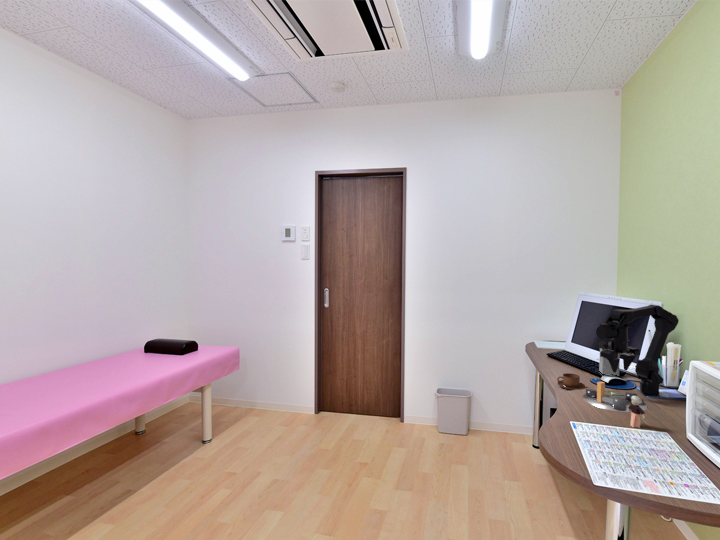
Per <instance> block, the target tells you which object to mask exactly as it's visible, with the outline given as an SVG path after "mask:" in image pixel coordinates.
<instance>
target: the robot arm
mask: <svg viewBox="0 0 720 540" xmlns="http://www.w3.org/2000/svg"><path fill="white" fill-rule="evenodd" d="M649 316H651V318H652V319H653V320H654V323H653V324H654V328H655V331H654V333H653V335H652V339H651V341H650V344H649V346H648V349H647V351H646V353H645V356H644V358H643V359H638V360H637V362H636V365H635V366H634V367H635V368H634V370H635V371H634V372H635V374H636V376H637V378H638V379H639V380H640V382H639V392H640V393H641V394H642V395H643V396H648V397H661V394H660V385H661V384H663V382H664V378H663V377H662V375H660V374H659V372H660V367H659V363H658V362H659V360H660V357H661V354H662V352H663V349H664V346H665V343H666V341H667V338H668V336H669V334H670V333H671V332H673V331H674V330H676V327H677V326H678V324H679V318H678V317H677V315H676V314H673V313H672V312H671V311H668V310H666V308H663V307H662V306H660V305H658V304H649V305H645V306H642V307H641V306H640V307H636V308H631V309H613V310H611V312H610V314H609V316H608V317H607V319H606V320H605V322H604V323H599V326H597V328H596V329H595V335H596V336H597V338H599V339H600V340H601V341H598V347H599V349H600V348H602V350H603V351H601V352H600V351H599V358H600V357H604V358H606V359H607V360H608V361H609V363H610V365H611V368H612V370H613V372H616V371H617V368H618V364H619V361H621V359H618V355H620V356H621V357H622V361H623V370H624V371H628V369H629V368H630V366H631V364H632V363H633V362H634V360H635V359H636V358H637V356H640V355H641V350H640V349H639V348H637V347H633V346H628V344H630V343H631V340H629V338H628V336H629V335H628V332H629V329H632V328H633V326H632V325H631V324H630V323H631V322H632V323H633V321H634V320H636V319H641V318H644V317H649ZM604 339H605V340H606V339H610V340H609V341H608V342H607V341H605V340H604ZM605 349H606V350H605ZM608 349H609V350H608ZM610 350H611V351H610ZM612 350H613V351H612ZM619 365H620V364H619Z"/></svg>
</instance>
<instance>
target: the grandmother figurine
mask: <svg viewBox="0 0 720 540" xmlns="http://www.w3.org/2000/svg"><path fill="white" fill-rule="evenodd" d="M631 399H632V404H631V405H630V406H629V407H628V410H627V411H628V412H627V413H630V427H631V426H632V428H639V429H640V428H641V417H642V419H644V420H646V419H647V417H646V414H645V413H646V412H644V411H645V410H644V411H643V410H642V409H641V408H640V407H639V406H638V405H639V404H640V403H642V402H643V401H642V399H641V398H640V397H639V396H638V395H637V396H632V397H631Z"/></svg>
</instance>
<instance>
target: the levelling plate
mask: <svg viewBox="0 0 720 540" xmlns="http://www.w3.org/2000/svg"><path fill="white" fill-rule="evenodd" d="M632 396H638V394H637V393H634V392H632V391H631V392H629V391H628V392H625V394H624V393H622V392H620V391H614V390H605V397H608V398H611V399H613V397H622V398H625V399H627V410H628V407H629V406H630V405H631V404H632V399H631V397H632ZM582 400H583V401H584V402H586V403H588V404H590V405H591V406H594V407H597V408H600V409H604V410H607V411H615V412H622V413H629V412H628V411H627V410H617V409H614V408H613V404H610V403H608V402H598V401H597V389H592V388H587V389H585V393H584V394H583V395H582ZM638 406H639V407H640V408H641V409H642V410H643V411H646V410H647V409H648V405H647V404H646V403H645V402H644V401H642V403H640V404H639V405H638Z"/></svg>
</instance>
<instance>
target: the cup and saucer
mask: <svg viewBox="0 0 720 540" xmlns="http://www.w3.org/2000/svg"><path fill="white" fill-rule="evenodd" d="M559 379H562V380H559ZM557 385H558V386H559V387H561V388H563V389H564V390H565V389H566V390H569V389H570V391H575V390H583V389H585V387H586V385H585V384H584V383H583V382H580V375H578V374H576V373H569V372H566V373H562V376H558V377H557ZM563 385H565V386H566V387H564V386H563Z"/></svg>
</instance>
